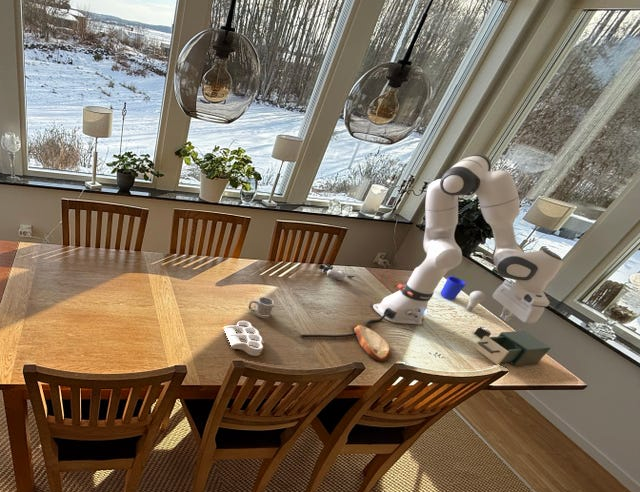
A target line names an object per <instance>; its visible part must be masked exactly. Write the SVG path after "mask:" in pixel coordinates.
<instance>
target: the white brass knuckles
mask: <svg viewBox="0 0 640 492" xmlns="http://www.w3.org/2000/svg"><path fill="white" fill-rule="evenodd" d="M239 325H245V326H247V327H244V326H239ZM223 329H224V331H225V332H224V331H223V332H224V334H225V333H226V335H225V337H226V336H227V337H226V339H227V338H228V339H227V340H229V341H228V343H229V342H230V344H229V346H230V345H231V347H244V348H246V349H247V350H248V351H250V352H252V353H259V354H252V353H250V352H248V351H247V350H246V349H243V348H242V350H241V351H243V352H245V353H246V354H247V355H249V356H253V357H257V356H260V355H261V354H262V352H263V349H264V345H263V344H265V343H266V341H264V340H263V337H262V336H261V335H260V331H259V330H258V329H257V328H255V327H254V326H252V323H251V322H249V321H248V320H239V321H237V323H236V325H225V326H224V327H222V330H223ZM236 329H237V330H239V331H241V332H242V333H240V332H238V331H235V330H236ZM236 332H237V333H236ZM247 332H248V333H247ZM250 332H253V333H254V334H253V333H250ZM239 338H243V339H245V340H246V341H245V340H240V339H239ZM251 339H255V340H251ZM256 340H257V341H256ZM246 342H247V343H246ZM249 345H253V346H256V347H258V348H256V347H253V346H249ZM231 347H230V348H231ZM260 352H261V353H260Z"/></svg>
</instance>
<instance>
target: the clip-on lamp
mask: <svg viewBox="0 0 640 492" xmlns="http://www.w3.org/2000/svg"><path fill="white" fill-rule="evenodd" d="M318 269H319V270H322V271H321V272H322V274H325V273H326V275H327V276H328V277H331V278H334V279H335V280H336V281H343V280H344V279H345V278H346V277H347V278H356V276H355V275H347V267H346V266H344V268H343V270H333V269H334V266H333V265H331V264H327V265H326V264H323V263H321V264H320V263H319V266H318Z"/></svg>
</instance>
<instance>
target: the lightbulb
mask: <svg viewBox="0 0 640 492" xmlns="http://www.w3.org/2000/svg"><path fill="white" fill-rule="evenodd" d="M468 297H469V299H468V302H467V306H466V307H465V309H466V311H473V309H474V308H476V306H477V305H479V304H481V303H483V302H484V301H485V299H486V295H485V293H484V292H483V291H480V290H474V291H472V292H470V294H469V296H468Z"/></svg>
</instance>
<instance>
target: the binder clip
mask: <svg viewBox="0 0 640 492" xmlns="http://www.w3.org/2000/svg"><path fill="white" fill-rule="evenodd" d="M473 334H474V335H475V336H476V337H477V338H480V339H481V340H482V338H483V337H484V336H487V337H489V338H490V337H491V335H492V332H491V331H490V330H489V329H487V328H486V327H485V326H483V327H482V326H480V327H477V329H476V330H475V331H474V333H473Z"/></svg>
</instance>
